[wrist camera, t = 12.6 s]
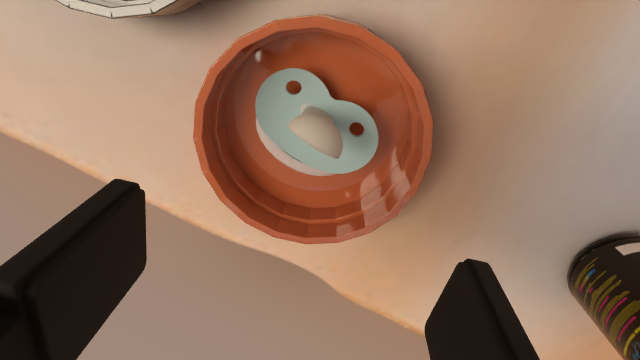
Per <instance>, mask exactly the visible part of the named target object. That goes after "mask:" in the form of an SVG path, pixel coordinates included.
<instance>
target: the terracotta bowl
mask: <svg viewBox="0 0 640 360" xmlns="http://www.w3.org/2000/svg"><path fill="white" fill-rule="evenodd" d="M287 68H299V69H303V70H306V71H309V72H311V73H312V74H314V75H315V76H317V77H318V78H319V79H320V80H321V81H322V82H323V83H324V85H325V86H326V88H327V89H328V92H329V94H330V96H331V97H332V98H333V99H335V100H345V101H349V102H352V103H354V104H357V105H359V106H360V107H362V108H363V109H365V110H366V111H367V112H368V113H369V115H370V116H371V117H372V118H373V120H374V122H375V124H376V127H377V130H378V146H377V149H376V152H375V154H374V156H373V157H372V159H371V160H370V161H369V162H368V163H367V164H366V165H365V166H363V167H361V168H360V169H358V170H355V171H352V172H349V173H344V174H334V175H331V176H313V175H308V174H304V173H301V172H298V171H296V170H294V169H292V168H290V167H288V166H286V165H285V164H283V163H282V162H281V161H279V160H278V159H276V158H275V157H274V156H273V155H272V154H271V153H270V152H269V151H268V150H267V148H266V147H265V145H264V144H263V142H262V141H261V139H260V137H259V134H258V132H257V129H256V108H255V103H256V97H257V93H258V91H259V89H260V87H261V85H262V84H263V83H264V81H265V80H266V79H267V78H268V77H270V76H271V75H272V74H274V73H276V72H278V71H280V70H283V69H287ZM286 87H287V90H288V91H289V92H290V93H292V94H296V93H299V92H300V91H301V89H302V87H301V84H300V83H299V82H298V81H295V80H292V81H289V82H288V83H287V86H286ZM349 129H350V132H351V133H352V134H354V135H361V134H362V133H363V132H364V127H363V125H362V124H360V123H358V122H354V123H352V124H351V125H350V127H349ZM432 132H433V119H432V116H431V112H430V109H429V106H428V102H427V99H426V96H425V92H424V89H423V86H422V84H421V82H420V80H419V79H418V78H417V76H416V75H415V74H414V72H413V71H412V70H411V68H410V67H409V66H408V64H407V63H406V62H405V60H404V59H403V57H402V56H401V55H400V53H399V52H398V51H397V50H396V49H395V48H394V47H392V46H391V45H390V44H389V43H387V42H386V41H384V40H383V39H381V38H380V37H378V36H377V35H375V34H374V33H372V32H371V31H369V30H368V29H366V28H365V27H363V26H362V25H360V24H358V23H355V22H351V21H347V20H343V19H339V18H335V17H331V16H327V15H321V14H320V15H310V16H300V17H291V18H284V19H279V20H275V21H272V22H270V23H268V24H266V25H264V26H262V27H260V28H258V29H256V30H254V31H252V32H250V33H248V34H246V35H244V36H242V37H240V38H238V39H237V40H236V41H235V42H234V43H233V44H232V45H231V46H230V47H229V48H228V49H227V50H226V51H225V52H224V53H223V54H222V55H221V57H220V58H219V59H218V60H217V61H216V62H215V63H214V64H213V65H212V66H211V67H210V69H209V71H208V73H207V76H206V78H205V80H204V83H203V85H202V88H201V90H200V92H199V95H198V97H197V99H196V103H195V115H194V133H193V138H194V139H193V140H194V143H195V147H196V151H197V154H198V158H199V162H200V165H201V169H202V172H203V174H204V175H205V177H206V179H207V180H208V182H209V183H210V185H211V186H212V188H213V190H214V191H215V193H216V194H217V196H218V198H219V199H220V200H221V202H223V203H224V204H225V205H226V206H227V207H228V208H229V209H230V210H232V211H233V212H234V213H235V214H236V215H237V216H238V217H239V218H240V219H242V220H243V221H244V222H245V223H247V224H249V225H251V226H253V227H255V228H257V229H259V230H261V231H263V232H265V233H267V234H269V235H271V236H272V237H275V238H280V239H284V240H289V241H294V242H298V243H303V244H322V243H339V242H343V241H346V240H349V239H352V238H355V237H359V236H362V235H365V234H368V233H370V232H372V231H373V230H375V229H376V228H378V227H379V226H381V225H383V224H384V223H386V222H387V221H389V220H390V219H392V218H393V217H395V216H396V215H397V214H398V213H399V212H400V211H401V210H402V208H403V207H404V206H405V205H406V204H407V202H408V201H409V200H410V199H411V198H412V196H413V195H414V194H415V193H416V192H417V191H418V189H419V186H420V184H421V181H422V179H423V176H424V174H425V171H426V169H427V167H428V164H429V162H430V159H431V152H432Z"/></svg>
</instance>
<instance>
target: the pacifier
mask: <svg viewBox="0 0 640 360" xmlns="http://www.w3.org/2000/svg"><path fill="white" fill-rule="evenodd" d="M292 80H295V81H298V82H299V83H300V84H301V87H302V89H301V91H300V92H299V93H296V94H292V93H290V92H289V91H288V90H287V87H286V86H287V83H288V82H289V81H292ZM255 108H256V129H257V132H258V134H259V137H260V139H261V141H262V142H263V144H264V145H265V147H266V148H267V150H268V151H269V152H270V153H271V154H272V155H273V156H274V157H275V158H276V159H278V160H279V161H281V162H282V163H283V164H285V165H286V166H288V167H290V168H292V169H294V170H296V171H298V172H301V173H304V174H308V175H313V176H331V175H334V174H344V173H349V172H352V171H355V170H358V169H360V168H361V167H363V166H365V165H366V164H367V163H368V162H369V161H370V160H371V159H372V157H373V156H374V154H375V152H376V149H377V146H378V130H377V127H376V124H375V122H374V120H373V118H372V117H371V116H370V115H369V113H368V112H367V111H366V110H365V109H363V108H362V107H360V106H359V105H357V104H354V103H352V102H349V101H345V100H335V99H333V98H332V97H331V96H330V94H329V92H328V89H327V88H326V86H325V85H324V83H323V82H322V81H321V80H320V79H319V78H318V77H317V76H315V75H314V74H312V73H311V72H309V71H306V70H303V69H299V68H287V69H283V70H280V71H278V72H276V73H274V74H272V75H271V76H270V77H268V78H267V79H266V80H265V81H264V83H263V84H262V85H261V87H260V89H259V91H258V93H257V97H256V103H255ZM354 122H358V123H360V124H362V125H363V127H364V132H363V133H362V134H361V135H354V134H352V133H351V132H350V129H349V127H350V125H351V124H352V123H354Z"/></svg>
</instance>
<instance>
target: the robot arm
mask: <svg viewBox="0 0 640 360" xmlns="http://www.w3.org/2000/svg"><path fill="white" fill-rule="evenodd" d="M145 265H146V215H145V192H144V190H142V189H140V186H139V184H137V183H134V182H130V181H125V180H121V179H114V180H113V181H111V182H110V183H109V184H107V185H106V186H105V187H103V188H102V189H101V190H99V191H98V192H97V193H96V194H94V195H93V196H92V197H90V198H89V199H88V200H86V201H85V202H84V203H82V204H81V205H80V206H79V207H77V208H76V209H75V210H73V211H72V212H71V213H70V214H68V215H67V216H65V217H64V218H63V219H62V220H61V221H59V222H58V223H56V224H55V225H54V226H52V227H51V228H50V229H48V230H47V231H46V232H45V233H43V234H42V235H41V236H39V237H38V238H37V239H35V240H34V241H33V242H31V243H30V244H29V245H28V246H26V247H25V248H24V249H22V250H21V251H20V252H18V253H17V254H16V255H14V256H13V257H12V258H11V259H9V260H8V261H7V262H5V263H4V264H3V265H2V266H0V360H76V359H77V358H78V356H79V355H80V354H81V353H82V351H83V350H84V348H85V347H86V346H87V345H88V343H89V342H90V341H91V339H92V338H93V337H94V335H95V334H96V333H97V331H98V330H99V329H100V328H101V326H102V325H103V323H104V322H105V321H106V319H107V318H108V317H109V315H110V314H111V313H112V311H113V310H114V309H115V308H116V306H117V305H118V304H119V302H120V301H121V300H122V299H123V297H124V296H125V295H126V293H127V292H128V291H129V289H130V288H131V286H132V285H133V284H134V283H135V281H136V280H137V279H138V277H139V276H140V275H141V273H142V272H143V270H144V268H145ZM425 337H426V341H427V345H428V350H429V354H430V359H431V360H540V359H539V357H538V355H537V353H536V352H535V350H534V348H533V346H532V344H531V342H530V340H529V338H528V336H527V334H526V333H525V331H524V329H523V327H522V325H521V323H520V321H519V319H518V317H517V316H516V314H515V312H514V310H513V308H512V306H511V304H510V302H509V300H508V299H507V297H506V295H505V293H504V291H503V289H502V287H501V285H500V283H499V282H498V280H497V278H496V276H495V274H494V272H493V270H492V268H491V266H490V265H489V264H488V263H486V262H481V261H477V260H473V259H466V260H465V261H464V262H459V263H458V264H457V266H456V268H455V269H454V271H453V273H452V275H451V277H450V279H449V281H448V282H447V284H446V286H445V288H444V290H443V292H442V294H441V295H440V297H439V299H438V301H437V303H436V305H435V307H434V308H433V310H432V312H431V314H430V316H429V318H428V320H427V322H426V325H425Z"/></svg>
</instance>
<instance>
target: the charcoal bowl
mask: <svg viewBox="0 0 640 360" xmlns="http://www.w3.org/2000/svg"><path fill="white" fill-rule="evenodd" d="M56 1H58V2H59V3H61V4H63V5H65V6H66V7H68V8H70V9H74V10H78V11H82V12H87V13H91V14H95V15H99V16H103V17H107V18H111V19H113V18H114V19H118V18H134V17H148V16H157V15H167V14H176V13H180V12H183V11H184V10H186V9H188V8H190V7H192V6H194V5H196V4H198V3H199V2H201V1H203V0H56Z"/></svg>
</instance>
